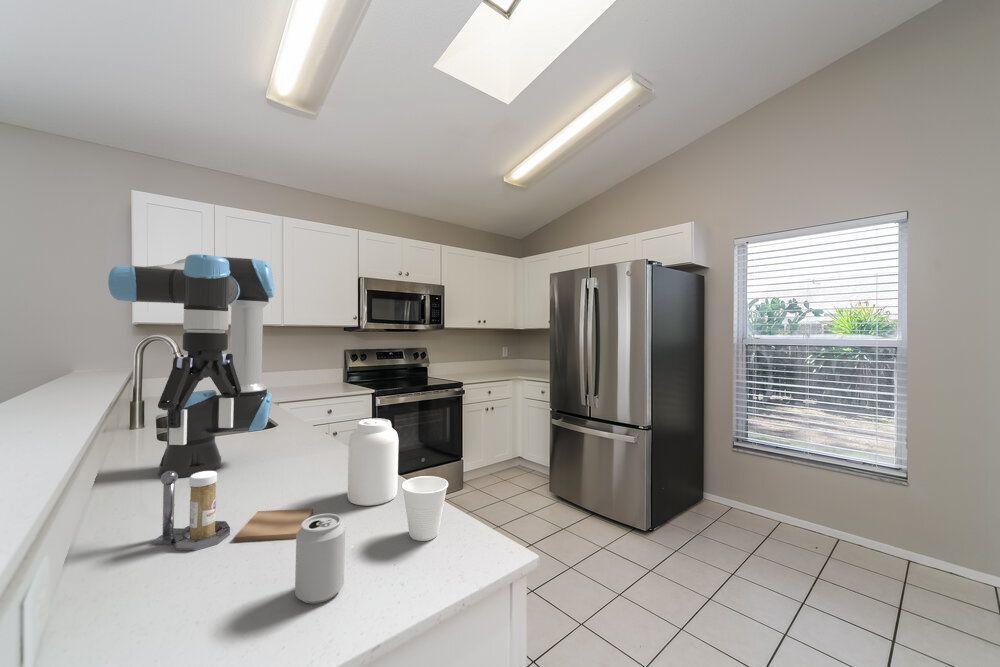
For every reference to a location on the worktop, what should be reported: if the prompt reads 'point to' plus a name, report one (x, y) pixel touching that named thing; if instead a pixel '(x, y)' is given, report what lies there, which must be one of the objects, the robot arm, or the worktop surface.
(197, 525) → the sprinkles bottle
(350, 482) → the white jar
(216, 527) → the ring stand
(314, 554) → the can
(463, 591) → the worktop surface
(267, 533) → the coaster
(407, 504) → the cup
